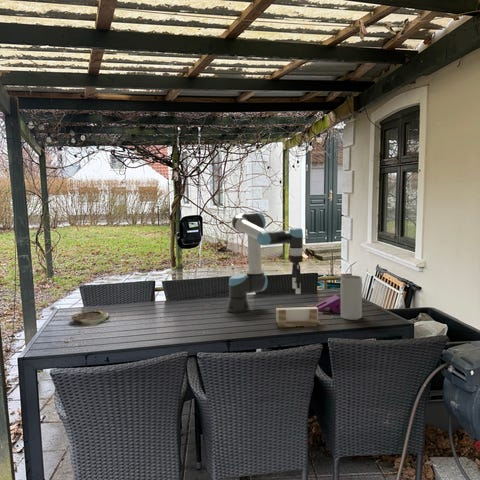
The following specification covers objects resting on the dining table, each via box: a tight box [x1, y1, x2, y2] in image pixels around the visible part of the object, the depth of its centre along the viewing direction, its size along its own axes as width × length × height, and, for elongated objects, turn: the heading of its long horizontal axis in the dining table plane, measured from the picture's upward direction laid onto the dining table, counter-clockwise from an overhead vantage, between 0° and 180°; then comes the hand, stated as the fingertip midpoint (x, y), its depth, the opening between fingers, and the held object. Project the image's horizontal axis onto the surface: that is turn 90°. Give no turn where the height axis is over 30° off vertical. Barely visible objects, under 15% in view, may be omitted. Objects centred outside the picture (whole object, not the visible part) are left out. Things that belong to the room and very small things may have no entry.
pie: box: [71, 310, 111, 328], centre depth 269 cm, size 28×27×5 cm
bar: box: [275, 306, 324, 322], centre depth 249 cm, size 4×27×7 cm, turn 91°
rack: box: [276, 304, 318, 328], centre depth 250 cm, size 10×22×10 cm, turn 91°
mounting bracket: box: [314, 294, 341, 314], centre depth 277 cm, size 9×8×18 cm
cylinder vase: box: [340, 274, 363, 321], centre depth 260 cm, size 12×12×25 cm
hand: (296, 291), depth 248 cm, fingers open, 13 cm apart
